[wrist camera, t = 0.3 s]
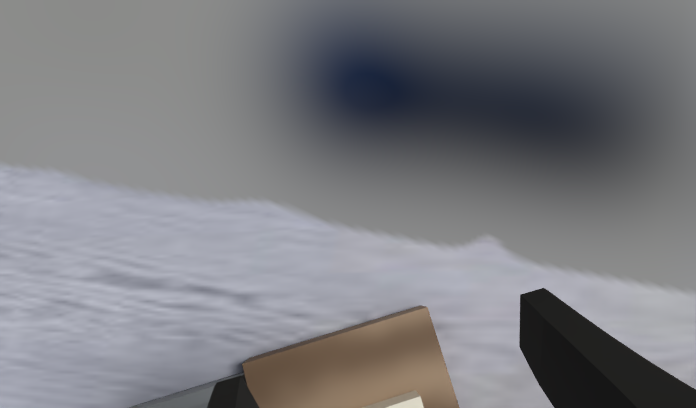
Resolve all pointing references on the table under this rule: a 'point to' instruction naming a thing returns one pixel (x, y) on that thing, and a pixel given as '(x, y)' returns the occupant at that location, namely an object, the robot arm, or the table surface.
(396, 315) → the drawer casing
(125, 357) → the table surface
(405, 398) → the tile
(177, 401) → the box
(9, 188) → the table surface
